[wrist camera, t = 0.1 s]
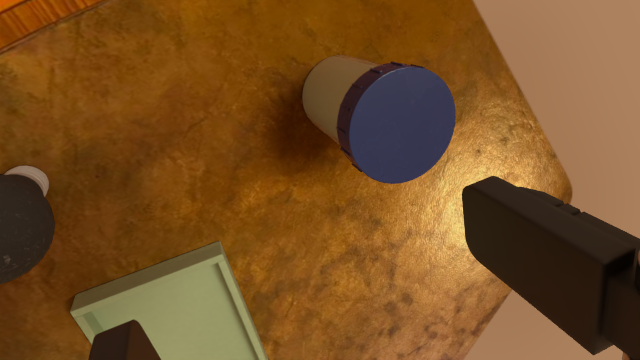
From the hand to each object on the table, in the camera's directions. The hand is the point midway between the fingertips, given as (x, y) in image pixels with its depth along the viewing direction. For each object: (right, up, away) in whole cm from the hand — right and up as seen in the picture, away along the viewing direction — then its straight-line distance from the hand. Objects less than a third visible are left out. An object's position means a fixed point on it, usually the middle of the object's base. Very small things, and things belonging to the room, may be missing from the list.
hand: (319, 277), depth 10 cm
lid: (+5, +5, +13) cm, 15 cm away
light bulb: (-19, +2, +17) cm, 26 cm away
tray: (-12, -11, +26) cm, 30 cm away
